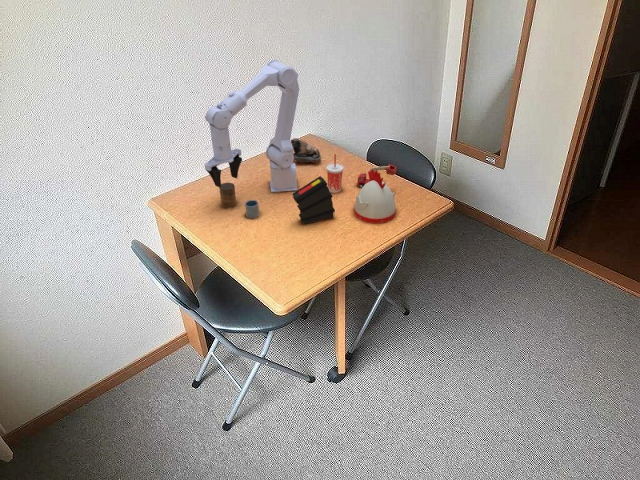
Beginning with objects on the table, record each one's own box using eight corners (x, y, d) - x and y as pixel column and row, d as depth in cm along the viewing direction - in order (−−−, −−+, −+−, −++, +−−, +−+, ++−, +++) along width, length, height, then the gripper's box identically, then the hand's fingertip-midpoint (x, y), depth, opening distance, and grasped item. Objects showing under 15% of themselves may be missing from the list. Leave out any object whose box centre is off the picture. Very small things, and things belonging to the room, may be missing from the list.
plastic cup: (259, 210, 165) (258, 199, 163) (259, 217, 162) (258, 206, 159) (246, 211, 165) (244, 200, 162) (246, 218, 161) (245, 207, 159)
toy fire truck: (358, 182, 181) (360, 159, 176) (394, 189, 177) (397, 165, 172) (356, 186, 179) (357, 162, 173) (392, 193, 175) (394, 169, 169)
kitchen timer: (378, 197, 172) (381, 159, 164) (403, 215, 163) (408, 175, 154) (346, 208, 166) (347, 169, 158) (370, 227, 157) (373, 186, 148)
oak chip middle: (231, 193, 171) (230, 187, 169) (238, 199, 167) (237, 193, 166) (217, 197, 168) (217, 191, 167) (225, 203, 165) (224, 197, 163)
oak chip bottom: (236, 200, 171) (235, 194, 170) (236, 207, 167) (235, 201, 166) (221, 201, 171) (220, 195, 169) (221, 208, 167) (220, 202, 165)
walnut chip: (235, 188, 169) (234, 182, 167) (235, 195, 164) (234, 189, 163) (220, 189, 168) (219, 183, 167) (219, 196, 164) (218, 190, 162)
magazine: (343, 212, 161) (325, 180, 151) (309, 234, 161) (289, 202, 151) (339, 207, 164) (321, 174, 154) (306, 228, 164) (286, 196, 154)
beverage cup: (334, 195, 174) (334, 160, 166) (322, 189, 177) (322, 154, 169) (346, 190, 177) (347, 154, 169) (335, 183, 181) (335, 149, 173)
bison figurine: (320, 157, 198) (320, 134, 192) (321, 165, 193) (321, 141, 187) (291, 158, 198) (290, 135, 192) (291, 166, 192) (290, 142, 186)
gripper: (213, 155, 149) (218, 193, 157) (246, 139, 159) (249, 176, 167) (197, 149, 153) (204, 187, 161) (230, 134, 162) (235, 171, 170)
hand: (226, 181), depth 164 cm, fingers open, 7 cm apart
